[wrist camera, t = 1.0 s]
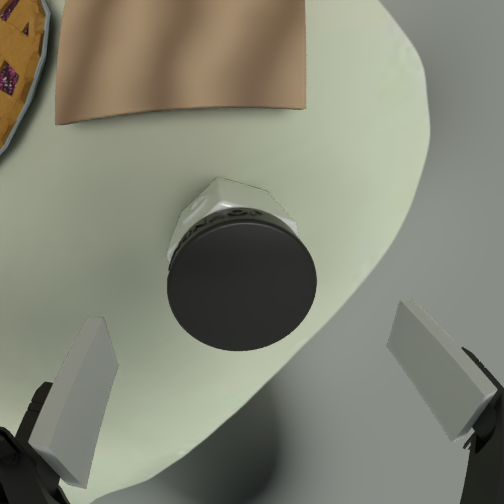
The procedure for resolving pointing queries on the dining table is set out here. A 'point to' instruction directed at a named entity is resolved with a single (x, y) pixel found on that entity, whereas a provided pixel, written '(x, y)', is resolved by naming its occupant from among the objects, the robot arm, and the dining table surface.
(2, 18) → the pie
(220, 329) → the jar
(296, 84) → the wooden serving stand
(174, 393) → the dining table surface
